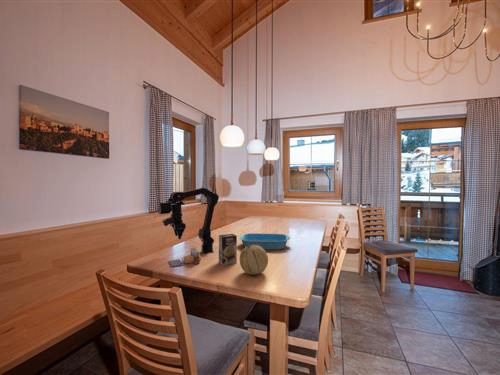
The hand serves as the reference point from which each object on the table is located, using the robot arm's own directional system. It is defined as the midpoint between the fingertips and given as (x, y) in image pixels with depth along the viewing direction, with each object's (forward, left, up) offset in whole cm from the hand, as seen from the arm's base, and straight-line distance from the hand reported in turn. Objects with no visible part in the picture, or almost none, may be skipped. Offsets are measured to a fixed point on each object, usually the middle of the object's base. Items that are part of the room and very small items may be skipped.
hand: (177, 237), depth 144 cm
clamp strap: (-7, +12, -8) cm, 16 cm away
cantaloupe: (-28, +45, -13) cm, 54 cm away
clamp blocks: (-7, +12, -13) cm, 19 cm away
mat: (+4, +10, -13) cm, 16 cm away
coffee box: (-23, +24, -13) cm, 35 cm away
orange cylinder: (-5, +12, -13) cm, 18 cm away
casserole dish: (-60, +6, -13) cm, 62 cm away
